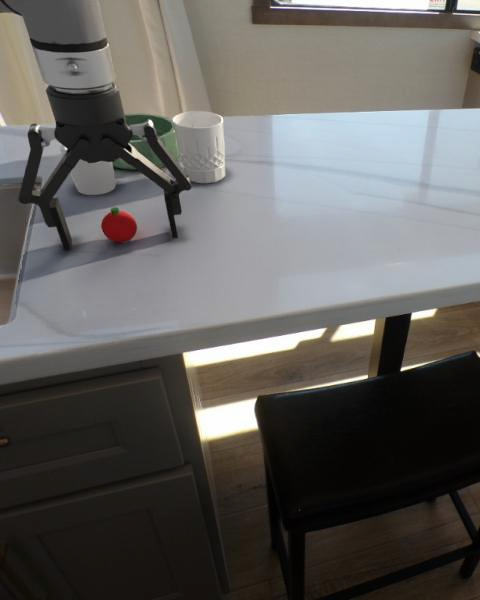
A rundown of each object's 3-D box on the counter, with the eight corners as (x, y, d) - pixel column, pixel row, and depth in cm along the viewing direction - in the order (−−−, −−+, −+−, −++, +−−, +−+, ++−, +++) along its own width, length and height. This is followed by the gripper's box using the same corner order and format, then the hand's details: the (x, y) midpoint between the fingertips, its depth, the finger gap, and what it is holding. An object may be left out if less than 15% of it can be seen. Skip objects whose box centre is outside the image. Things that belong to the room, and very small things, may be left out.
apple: (98, 243, 73) (88, 212, 70) (120, 229, 76) (112, 198, 73) (125, 251, 72) (116, 219, 69) (146, 236, 75) (139, 205, 72)
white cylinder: (126, 190, 85) (116, 149, 81) (81, 200, 81) (68, 158, 77) (110, 174, 89) (100, 134, 84) (66, 183, 85) (53, 142, 80)
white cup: (204, 189, 88) (195, 131, 82) (171, 175, 91) (161, 118, 84) (238, 175, 93) (233, 119, 87) (207, 162, 96) (199, 107, 90)
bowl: (82, 161, 91) (73, 131, 88) (135, 136, 102) (129, 108, 98) (148, 178, 89) (142, 148, 85) (196, 151, 99) (192, 123, 96)
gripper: (-58, 96, 54) (15, 265, 67) (197, 92, 62) (218, 242, 75) (-42, 75, 59) (23, 236, 72) (191, 73, 68) (211, 217, 81)
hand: (123, 239), depth 74 cm, fingers open, 13 cm apart
